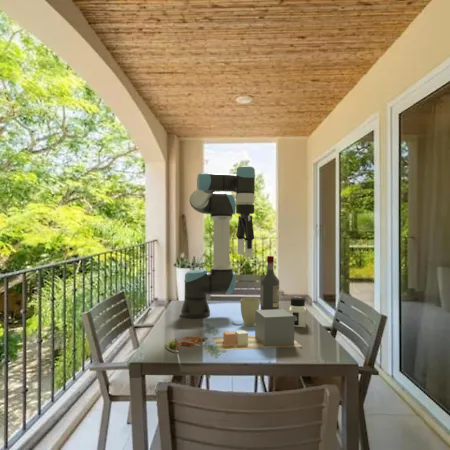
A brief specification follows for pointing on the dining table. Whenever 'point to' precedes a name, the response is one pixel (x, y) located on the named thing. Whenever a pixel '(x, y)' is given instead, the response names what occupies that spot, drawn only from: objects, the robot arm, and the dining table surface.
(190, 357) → the dining table surface
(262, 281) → the liquor
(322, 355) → the dining table surface
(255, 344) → the board
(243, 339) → the white block
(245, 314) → the mug
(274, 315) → the grey matte cube
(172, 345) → the food
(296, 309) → the container
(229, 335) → the terracotta block
